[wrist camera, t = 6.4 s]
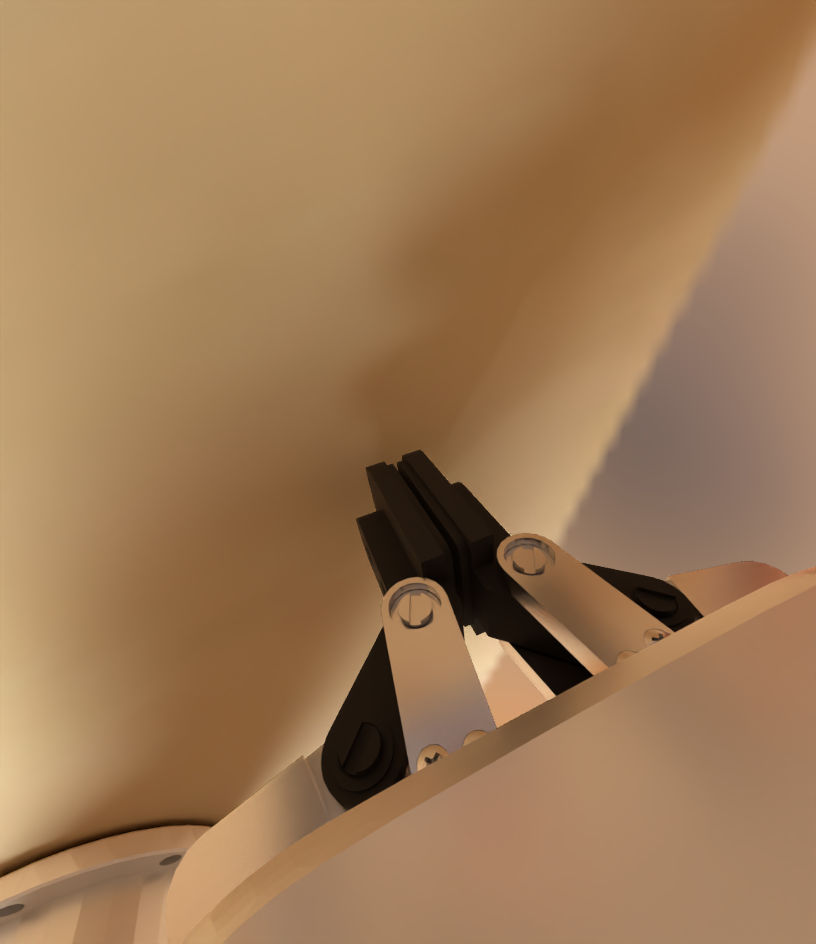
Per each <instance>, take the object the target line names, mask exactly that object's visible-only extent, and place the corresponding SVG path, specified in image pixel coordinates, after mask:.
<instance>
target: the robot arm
mask: <svg viewBox="0 0 816 944" xmlns="http://www.w3.org/2000/svg"><path fill="white" fill-rule="evenodd" d="M397 467H398V471H397V469H396V468H395V466H394V465H393V464H391V465H388V466H387V464H386V463H385V462H381V463H378V464H375V465H372V466H369V467H366V471H367V476H368V480H369V484H370V488H371V492H372V496H373V500H374V504H375V508H376V512H373V513H371V514H368V515H365V516H362V517H359V518H357V519H356V520H357V524H358V528H359V531H360V534H361V538H362V541H363V544H364V547H365V550H366V553H367V555H368V558H369V561H370V563H371V566H372V569H373V571H374V573H375V576H376V578H377V581H378V583H379V586H380V588H381V591H382V593H383V596H384V599H383V601H382V604H381V615H382V621H383V628H382V630H381V631H380V633H379V635H378V637H377V639H376V641H375V643H374V645H373V647H372V649H371V651H370V653H369V655H368V657H367V659H366V661H365V663H364V665H363V666H362V668H361V670H360V672H359V674H358V676H357V678H356V680H355V682H354V684H353V686H352V688H351V690H350V692H349V694H348V696H347V698H346V700H345V701H344V703H343V705H342V707H341V709H340V711H339V713H338V715H337V717H336V719H335V721H334V723H333V725H332V727H331V729H330V731H329V733H328V735H327V737H326V740H325V743H324V744H323V745H322V746H321V747H320V748H318V749H317V750H316V751H315V752H313V753H312V754H311V755H310V756H308V757H307V758H306V759H305V758H304V756H301V757H300V758H299V759H297V760H296V761H295V762H294V763H292V764H291V765H290V766H289V767H287V768H286V769H285V770H284V771H282V772H281V773H280V774H279V775H277V776H276V777H275V778H274V779H272V780H271V781H270V782H269V783H267V784H266V785H265V786H263V787H262V788H261V789H260V790H258V791H257V792H256V793H255V794H253V795H252V796H251V797H250V798H248V799H247V800H246V801H245V802H243V803H242V804H241V805H240V806H238V807H237V808H236V809H235V810H233V811H232V812H231V813H230V814H228V815H227V816H226V817H224V818H223V819H222V820H221V821H219V822H218V823H217V824H216V825H214V826H213V827H209V826H198V825H179V826H164V827H157V828H151V829H144V830H138V831H133V832H129V833H124V834H120V835H116V836H111V837H107V838H103V839H100V840H96V841H93V842H90V843H87V844H83V845H80V846H77V847H73V848H70V849H67V850H65V851H62V852H59V853H57V854H54V855H51V856H49V857H46V858H43V859H41V860H38V861H35V862H33V863H31V864H29V865H27V866H24V867H22V868H20V869H18V870H16V871H13V872H11V873H9V874H7V875H5V876H2V877H0V944H816V567H813V568H809V569H806V570H803V571H800V572H796V573H794V574H791V575H787V574H786V573H784V572H782V571H781V570H779V569H777V568H775V567H772V566H770V565H767V564H764V563H759V562H754V561H741V562H736V563H731V564H726V565H721V566H716V567H711V568H706V569H701V570H696V571H691V572H686V573H681V574H676V575H671V576H668V577H667V580H666V581H663V580H660V579H656V578H653V577H649V576H644V575H639V574H635V573H630V572H624V571H620V570H615V569H610V568H605V567H600V566H595V565H590V564H586V563H581V562H579V561H578V560H576V559H575V558H574V557H572V556H571V555H570V554H568V553H567V552H566V551H564V550H563V549H562V548H560V547H559V546H558V545H556V544H555V543H554V542H552V541H551V540H549V539H547V538H545V537H543V536H540V535H537V534H531V533H521V534H515V535H512V536H510V535H509V534H508V533H507V532H506V531H505V529H504V528H503V527H502V526H501V525H500V524H499V523H498V522H497V521H496V520H495V518H494V517H493V516H492V515H491V514H490V513H489V512H488V511H487V510H486V509H485V508H484V506H483V505H482V504H481V503H480V502H479V501H478V500H477V499H476V498H475V497H474V496H473V494H472V493H471V492H470V491H469V490H468V489H467V488H466V487H465V486H464V485H463V484H462V483H460V482H457V483H454V484H450V483H449V482H448V481H447V479H446V478H445V477H444V476H443V475H442V474H441V472H440V471H439V470H438V469H437V468H436V467H435V466H434V464H433V463H432V462H431V461H430V460H429V459H428V457H427V456H426V455H425V454H424V453H423V452H422V451H421V450H417V451H414V452H411V453H408V454H405V455H403V456H402V461H400V462H397ZM463 625H464V626H465V627H466V626H468V625H471V627H472V628H473V630H474V632H475V633H476V635H479V634H481V633H483V632H486V634H487V635H488V636H489V637H492V638H495V639H499V643H500V644H501V646H502V647H503V649H504V650H505V651H506V653H507V654H508V655H509V656H510V657H511V658H512V660H513V661H514V662H515V663H516V664H517V666H518V667H519V668H520V669H521V670H522V671H523V673H524V674H525V675H526V676H527V677H528V678H529V680H530V681H531V682H532V683H533V684H534V685H535V686H536V688H537V689H538V690H539V691H540V692H541V694H542V695H543V696H544V697H545V698H546V699H547V701H546V702H544V703H543V704H541V705H539V706H537V707H535V708H533V709H532V710H530V711H528V712H526V713H524V714H522V715H520V716H519V717H517V718H515V719H513V720H511V721H509V722H508V723H506V724H504V725H502V726H500V727H498V728H497V727H496V724H495V722H494V719H493V716H492V713H491V711H490V708H489V705H488V703H487V700H486V697H485V695H484V692H483V689H482V687H481V684H480V681H479V679H478V676H477V673H476V671H475V668H474V665H473V663H472V660H471V657H470V655H469V652H468V649H467V647H466V644H465V640H464V629H463Z"/></svg>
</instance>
